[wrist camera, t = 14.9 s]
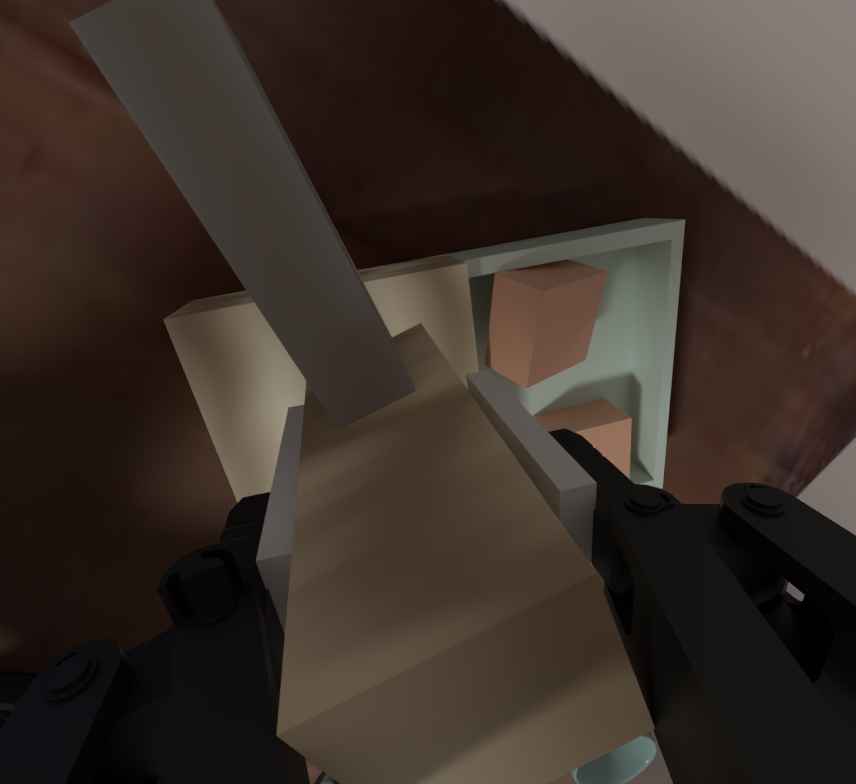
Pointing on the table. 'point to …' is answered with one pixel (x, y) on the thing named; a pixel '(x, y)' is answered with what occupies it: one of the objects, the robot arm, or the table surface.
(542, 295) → the tile
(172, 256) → the table surface
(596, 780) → the cup
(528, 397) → the tray
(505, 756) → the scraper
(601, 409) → the tile
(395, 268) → the board
